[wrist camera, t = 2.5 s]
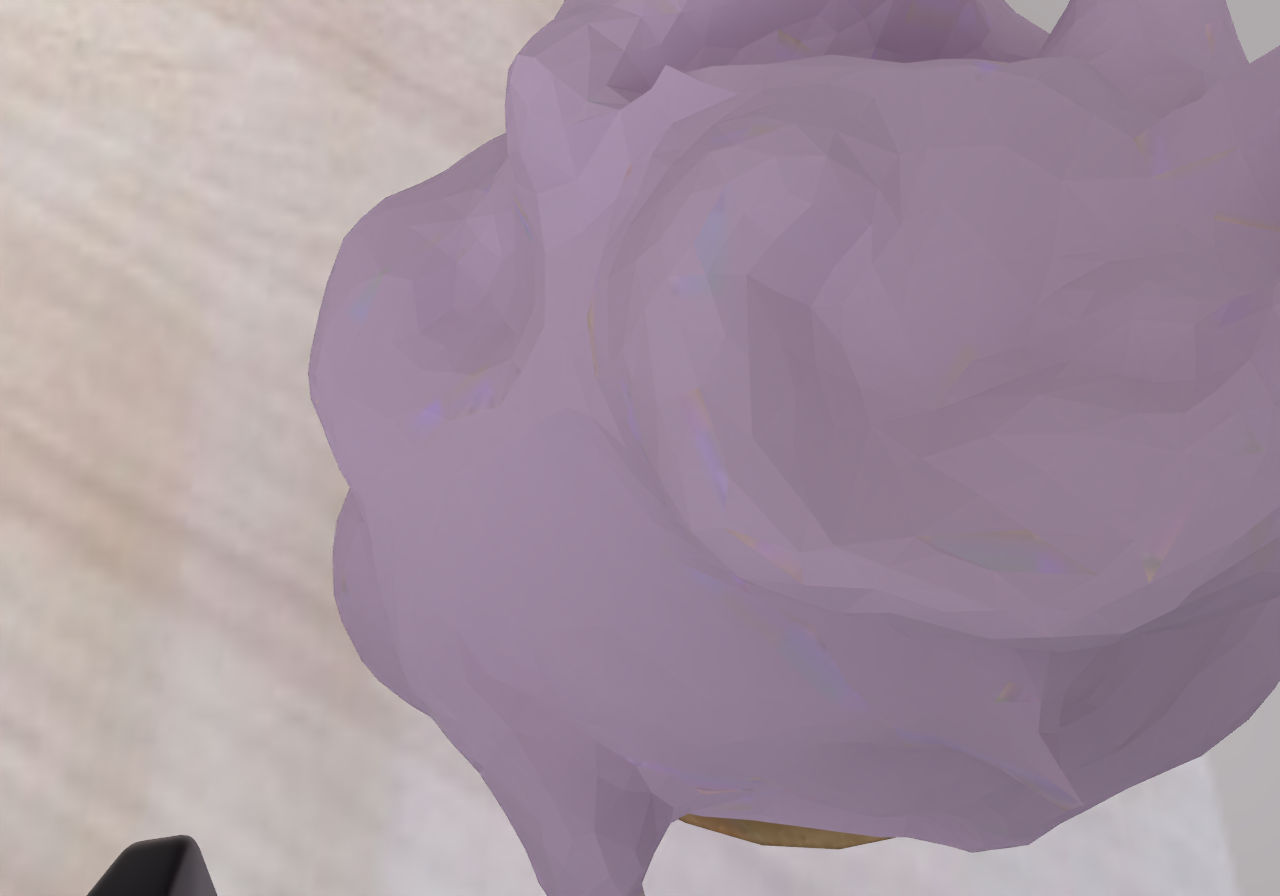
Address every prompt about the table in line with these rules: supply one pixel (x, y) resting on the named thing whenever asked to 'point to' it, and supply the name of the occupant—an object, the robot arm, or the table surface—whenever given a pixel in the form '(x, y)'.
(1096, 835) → the table surface
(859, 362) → the ice cream cone
